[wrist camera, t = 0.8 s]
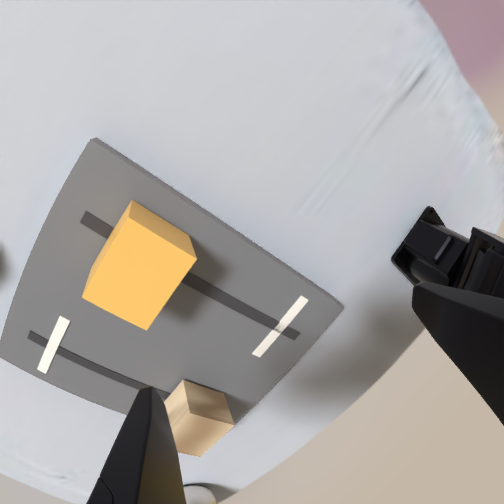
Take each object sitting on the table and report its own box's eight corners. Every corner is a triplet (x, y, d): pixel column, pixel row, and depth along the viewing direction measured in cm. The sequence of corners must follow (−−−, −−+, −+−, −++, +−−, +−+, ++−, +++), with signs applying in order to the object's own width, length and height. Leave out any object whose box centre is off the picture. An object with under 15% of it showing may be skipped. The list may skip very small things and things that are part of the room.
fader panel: (332, 295, 27) (344, 308, 25) (213, 425, 30) (218, 441, 28) (96, 137, 17) (90, 139, 15) (3, 340, 20) (-4, 355, 18)
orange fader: (188, 235, 19) (197, 258, 16) (145, 298, 20) (146, 330, 17) (132, 199, 17) (128, 217, 14) (91, 268, 18) (81, 297, 15)
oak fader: (223, 393, 25) (234, 425, 22) (192, 426, 26) (199, 456, 23) (182, 379, 23) (189, 413, 20) (153, 414, 24) (157, 447, 21)
